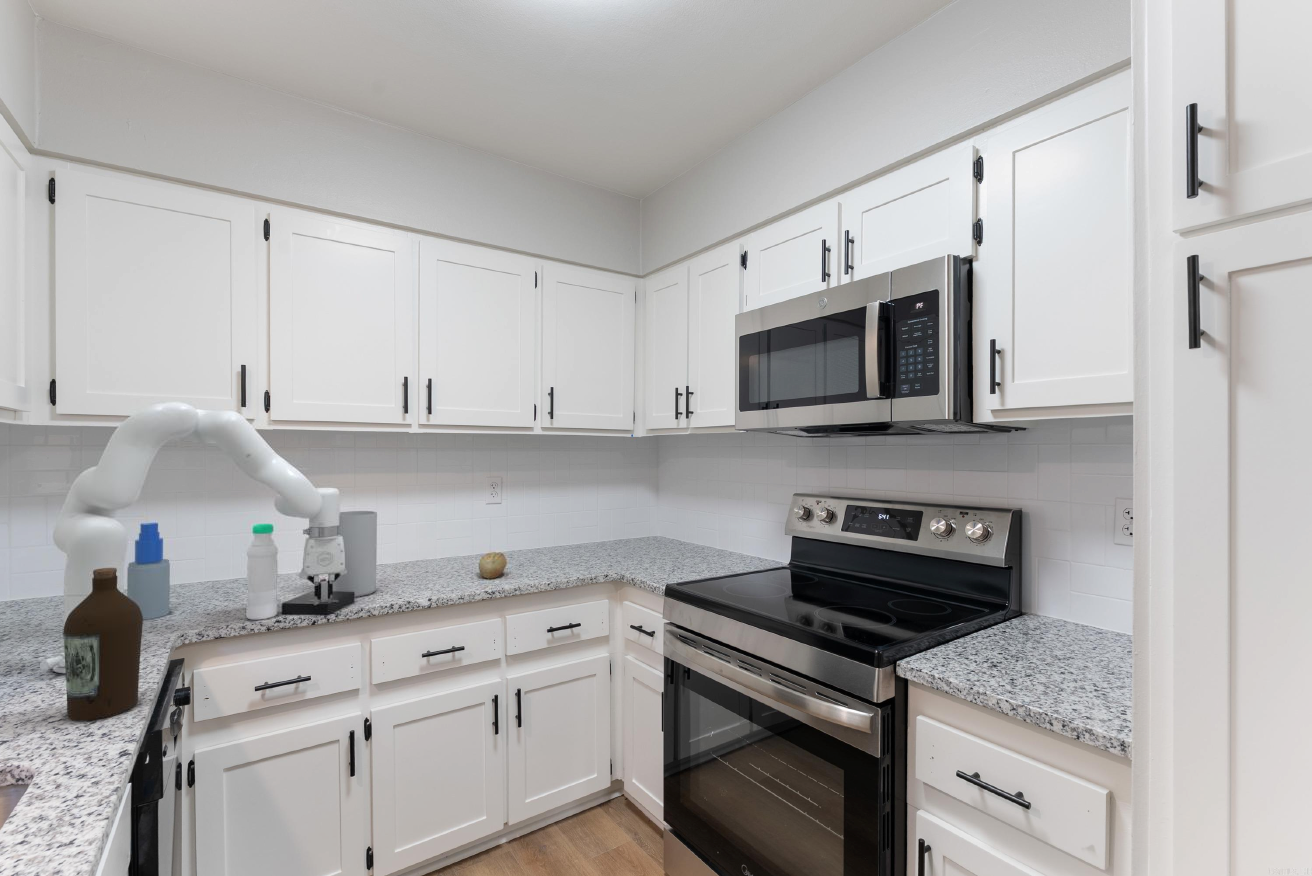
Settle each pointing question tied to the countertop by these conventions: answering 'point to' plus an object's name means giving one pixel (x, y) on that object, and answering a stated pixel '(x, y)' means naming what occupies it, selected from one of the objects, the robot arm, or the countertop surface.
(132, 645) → the olive oil
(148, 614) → the spray bottle
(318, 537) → the robot arm
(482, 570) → the bread roll
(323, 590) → the knob
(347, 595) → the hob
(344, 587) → the cylinder vase
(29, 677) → the countertop surface
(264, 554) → the water bottle
